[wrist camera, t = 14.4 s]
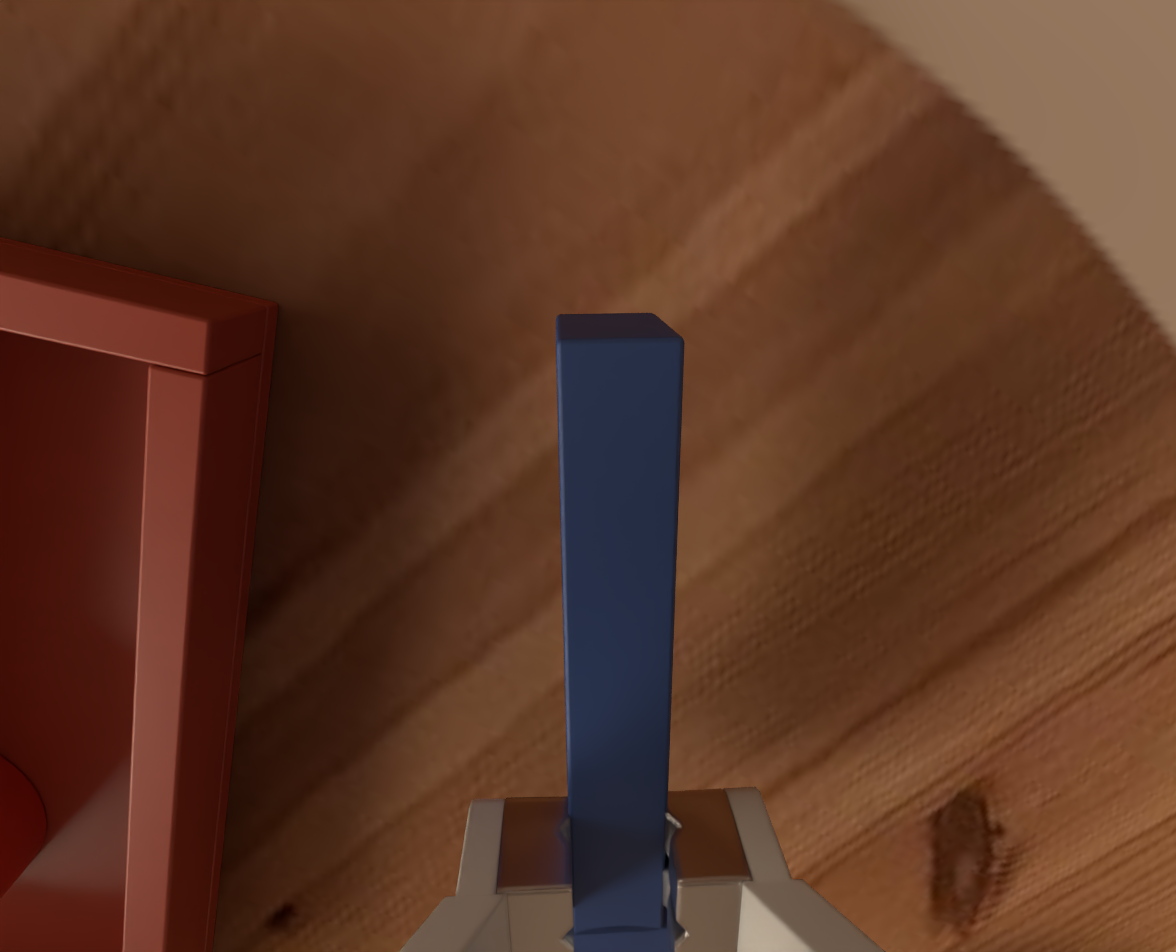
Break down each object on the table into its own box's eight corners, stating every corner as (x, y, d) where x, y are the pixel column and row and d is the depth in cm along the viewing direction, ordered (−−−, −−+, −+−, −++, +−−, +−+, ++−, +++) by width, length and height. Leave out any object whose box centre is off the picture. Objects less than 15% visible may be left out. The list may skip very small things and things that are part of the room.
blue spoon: (462, 315, 10) (432, 341, 7) (746, 311, 10) (804, 335, 7) (507, 956, 14) (498, 1098, 12) (704, 946, 14) (733, 1084, 12)
